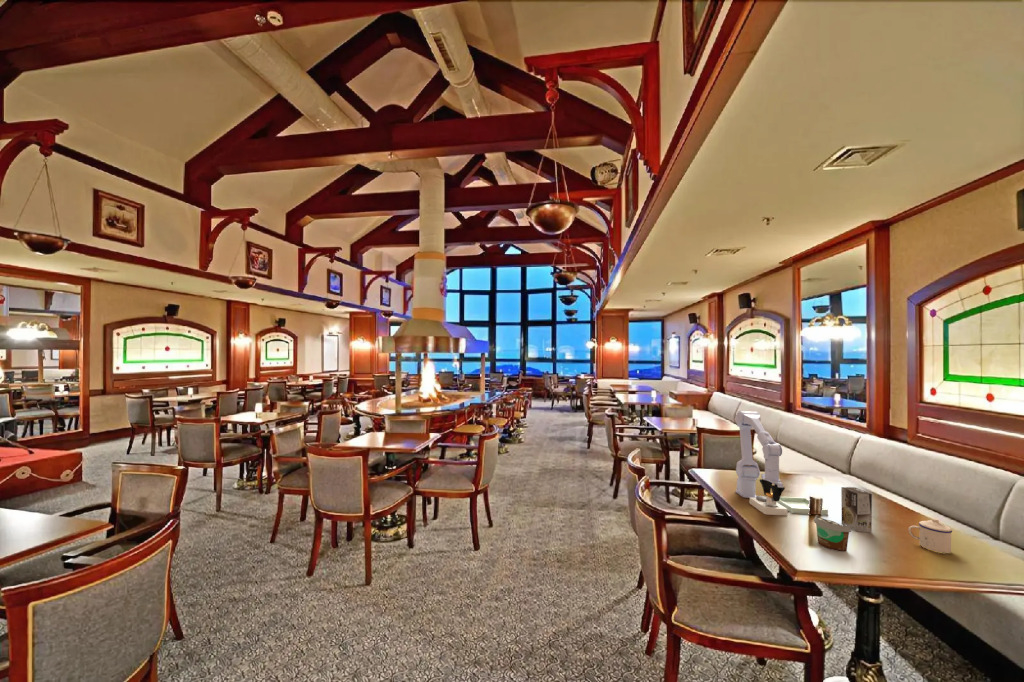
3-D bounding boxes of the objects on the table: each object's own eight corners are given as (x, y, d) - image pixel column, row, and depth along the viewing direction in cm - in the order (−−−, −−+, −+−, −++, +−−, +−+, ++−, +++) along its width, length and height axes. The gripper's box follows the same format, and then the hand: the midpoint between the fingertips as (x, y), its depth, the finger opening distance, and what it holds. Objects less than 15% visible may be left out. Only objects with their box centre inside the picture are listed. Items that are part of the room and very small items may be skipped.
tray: (772, 501, 210) (772, 496, 210) (805, 502, 209) (805, 497, 209) (792, 513, 194) (792, 508, 194) (827, 515, 193) (827, 509, 193)
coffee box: (872, 532, 175) (872, 494, 176) (857, 531, 175) (857, 493, 176) (855, 523, 184) (855, 486, 185) (840, 522, 184) (840, 486, 185)
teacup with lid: (950, 549, 161) (950, 519, 162) (953, 557, 155) (953, 526, 155) (908, 539, 169) (908, 510, 170) (908, 546, 163) (909, 516, 163)
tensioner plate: (749, 503, 206) (749, 495, 206) (770, 504, 205) (770, 496, 205) (765, 514, 192) (765, 505, 192) (787, 515, 191) (787, 506, 191)
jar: (763, 509, 198) (763, 491, 198) (773, 510, 198) (773, 492, 198) (769, 513, 193) (769, 495, 193) (779, 513, 193) (779, 495, 193)
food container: (806, 541, 165) (806, 515, 165) (816, 538, 167) (816, 513, 167) (840, 555, 153) (840, 528, 154) (851, 553, 156) (851, 526, 156)
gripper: (755, 464, 203) (754, 492, 203) (771, 473, 189) (771, 503, 188) (769, 465, 203) (769, 493, 202) (787, 473, 188) (787, 503, 188)
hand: (771, 498), depth 195 cm, fingers open, 7 cm apart
